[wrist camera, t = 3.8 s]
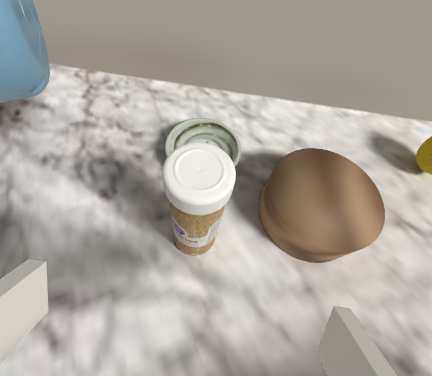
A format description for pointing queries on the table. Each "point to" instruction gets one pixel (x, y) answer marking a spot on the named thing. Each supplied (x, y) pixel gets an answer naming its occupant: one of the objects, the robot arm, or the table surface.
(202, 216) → the sprinkles bottle
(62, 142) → the table surface
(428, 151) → the lemon
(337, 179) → the walnut pedestal
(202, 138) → the saucer
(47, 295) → the robot arm
